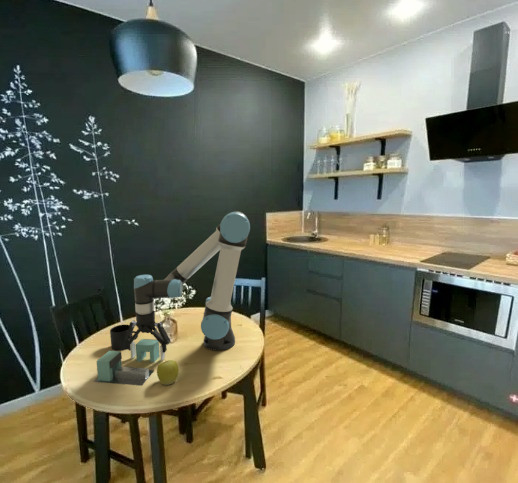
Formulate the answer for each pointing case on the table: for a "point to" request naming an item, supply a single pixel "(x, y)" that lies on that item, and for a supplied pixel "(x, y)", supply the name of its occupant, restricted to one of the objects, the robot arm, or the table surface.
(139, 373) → the rail base
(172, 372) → the apple
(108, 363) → the teal notched block
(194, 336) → the table surface
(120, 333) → the mug
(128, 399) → the table surface
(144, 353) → the teal arch
